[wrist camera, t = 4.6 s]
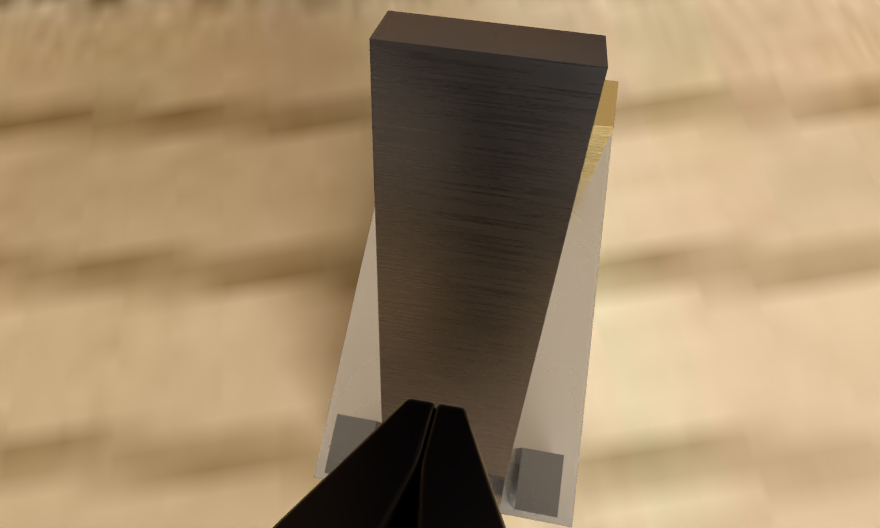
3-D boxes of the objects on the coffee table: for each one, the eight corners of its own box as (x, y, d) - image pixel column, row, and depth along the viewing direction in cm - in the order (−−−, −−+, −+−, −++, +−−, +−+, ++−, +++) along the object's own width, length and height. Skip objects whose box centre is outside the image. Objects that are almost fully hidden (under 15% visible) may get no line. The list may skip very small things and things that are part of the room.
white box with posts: (549, 511, 20) (595, 543, 13) (345, 472, 21) (280, 482, 13) (587, 174, 24) (640, 52, 16) (413, 150, 24) (390, 23, 17)
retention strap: (496, 518, 15) (608, 77, 7) (381, 496, 15) (363, 47, 7) (502, 461, 16) (604, 27, 8) (395, 442, 17) (393, 3, 9)
